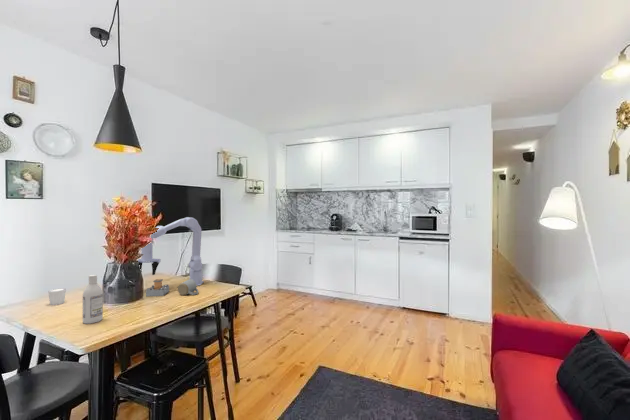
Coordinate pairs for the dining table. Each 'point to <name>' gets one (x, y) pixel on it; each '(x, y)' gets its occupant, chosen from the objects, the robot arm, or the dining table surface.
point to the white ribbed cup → (57, 296)
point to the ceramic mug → (188, 287)
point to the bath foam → (92, 301)
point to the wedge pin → (158, 283)
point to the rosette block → (157, 291)
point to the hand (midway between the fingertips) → (146, 274)
